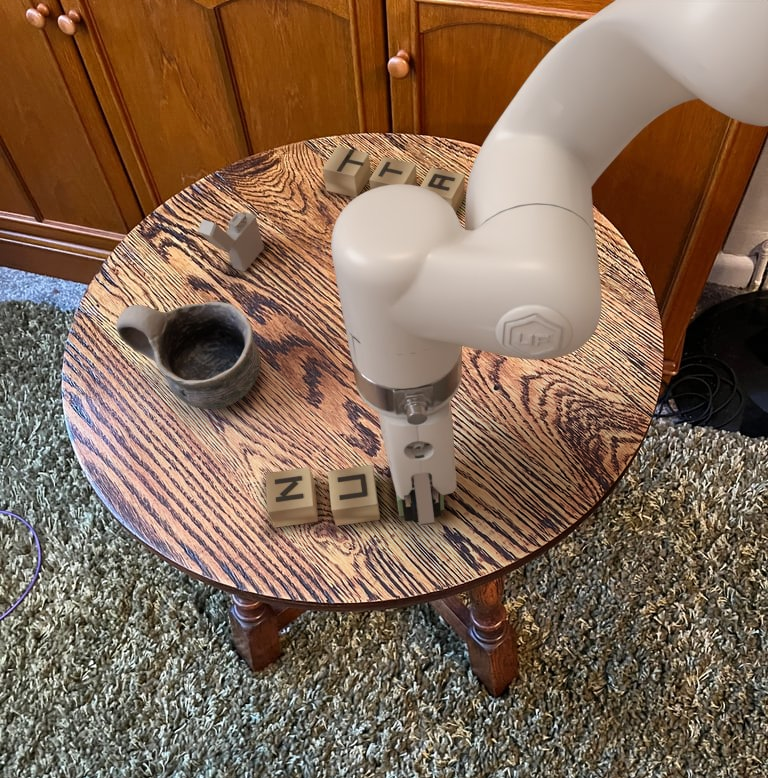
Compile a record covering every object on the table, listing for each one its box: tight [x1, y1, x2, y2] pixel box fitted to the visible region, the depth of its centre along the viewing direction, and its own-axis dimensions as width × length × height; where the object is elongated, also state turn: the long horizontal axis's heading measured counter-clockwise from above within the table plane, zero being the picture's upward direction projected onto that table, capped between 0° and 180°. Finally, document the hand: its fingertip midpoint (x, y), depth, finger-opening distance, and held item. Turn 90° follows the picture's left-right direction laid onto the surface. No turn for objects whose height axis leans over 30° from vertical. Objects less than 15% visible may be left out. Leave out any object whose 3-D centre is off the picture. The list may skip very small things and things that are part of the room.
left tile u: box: [327, 464, 381, 527], centre depth 68 cm, size 4×4×3 cm
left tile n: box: [265, 466, 319, 528], centre depth 68 cm, size 4×4×3 cm
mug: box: [116, 301, 262, 410], centre depth 72 cm, size 10×12×10 cm
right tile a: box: [420, 166, 466, 214], centre depth 85 cm, size 4×4×3 cm
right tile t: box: [368, 156, 418, 190], centre depth 87 cm, size 4×4×3 cm
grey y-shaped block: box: [197, 211, 265, 272], centre depth 81 cm, size 7×2×8 cm, turn 151°
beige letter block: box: [322, 145, 372, 199], centre depth 88 cm, size 4×4×3 cm
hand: (418, 492), depth 69 cm, fingers closed on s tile, 4 cm apart
